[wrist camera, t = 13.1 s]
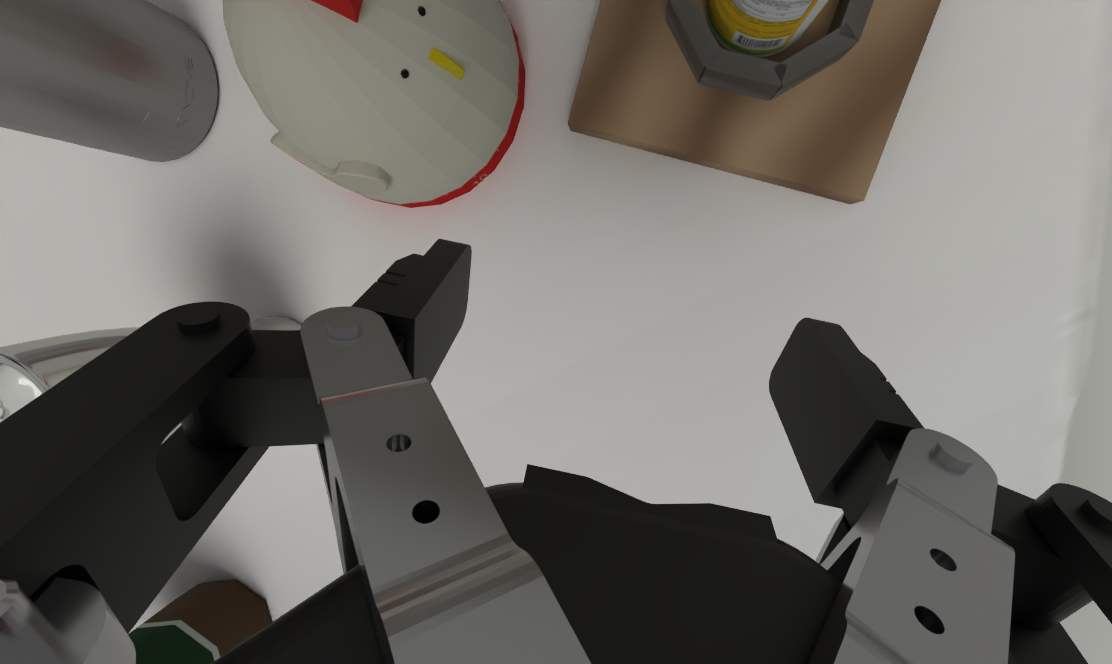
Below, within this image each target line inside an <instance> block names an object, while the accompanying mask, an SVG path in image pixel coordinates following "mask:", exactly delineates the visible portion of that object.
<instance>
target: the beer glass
mask: <svg viewBox="0 0 1112 664" xmlns="http://www.w3.org/2000/svg"><path fill="white" fill-rule="evenodd" d="M250 323H251V328H252V330H300V328H301V324H299V323H298V322H296V321H294V320H292V319H289V318H286V317H279V316H270V317H265V318H261V319H258V320H255V321H253V322H250ZM139 328H140V327H130V328H118V329H106V330H95V331H88V332H81V333H75V334H68V335H61V336H55V337H50V338H45V339H39V340H34V341H28V342H23V343H18V344H14V345H9V346H4V347H0V422H1V421H3V420H4V419H6V418H7V417H9V416H10V415H12V414H13V413H15V412H16V411H18V410H19V409H21V408H22V407H24V406H25V405H27V404H28V403H29V402H31V401H32V400H34V399H35V398H37V397H38V396H40V395H41V394H43V393H44V392H46V391H47V390H49V389H50V388H52V387H53V386H55V385H56V384H57V383H59V382H60V381H62V380H63V379H65V378H66V377H68V376H69V375H71V374H72V373H74V372H75V371H77V370H78V369H80V368H81V367H83V366H84V365H85V364H87V363H88V362H90V361H91V360H93V359H94V358H96V357H97V356H99V355H100V354H102V353H103V352H105V351H106V350H108V349H109V348H111V347H112V346H113V345H115V344H116V343H118V342H119V341H121V340H122V339H124V338H125V337H127V336H128V335H130V334H131V333H133V332H134V331H136V330H137V329H139ZM180 426H181V423H180V424H179V425H178V426H177V427H176V428H175V429H174V430H172V431H171V432H170V433H169V435H168V436H167V437H166V438H165V439H164V441H163V442H162V444H163V443H164V442H165V441H166V440H167V439H168V438H169V437H170V436H171V435H172V434H173V433H174V432H175V431H176V430H177V429H178V428H179V427H180ZM162 444H161V445H162Z"/></svg>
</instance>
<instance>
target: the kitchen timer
mask: <svg viewBox="0 0 1112 664" xmlns="http://www.w3.org/2000/svg"><path fill="white" fill-rule="evenodd" d="M223 15H224V23H225V27H226V30H227V34H228V37H229V41H230V44H231V48H232V51H233V54H234V58H235V61H236V64H237V66H238V68H239V71H240V73H241V75H242V77H243V78H244V80H245V82H246V83H247V85H248V87H249V88H250V90H251V92H252V94H253V95H254V97H255V99H256V100H257V102H258V104H259V106H260V107H261V109H262V111H263V112H264V114H265V115H266V117H267V118H268V119H269V120H270V122H271V123H272V124H273V125H274V126H275V127H276V128H277V129H278V130H279V132H278V133H277V134H276V135H275V136H273V137H272V138H271V142H272V143H273V144H274V145H275V146H277V147H278V148H279V149H281V150H282V151H284V152H285V153H287V154H288V155H290V156H291V157H293V158H294V159H296V160H298V161H299V162H301V163H303V164H304V165H306V166H308V167H309V168H311V169H313V170H314V171H316V172H317V173H319V174H320V175H322V176H324V177H325V178H327V179H329V180H330V181H332V182H334V183H336V184H338V185H340V186H342V187H344V188H347V189H349V190H352V191H354V192H356V193H358V194H360V195H362V196H364V197H366V198H369V199H372V200H376V201H380V202H384V203H389V204H395V205H400V206H405V207H410V208H413V207H422V206H430V205H439V204H443V203H445V202H447V201H450V200H452V199H454V198H456V197H458V196H461V195H463V194H465V193H467V192H470V191H471V190H472V189H473V188H474V187H475V186H477V185H478V184H479V183H480V182H481V181H482V180H484V179H485V178H486V177H487V176H488V175H489V174H490V173H492V172H493V171H494V170H495V168H496V167H497V165H498V164H499V162H500V161H501V159H502V158H503V156H504V154H505V153H506V151H507V150H508V148H509V147H510V145H511V144H512V142H513V140H514V136H515V133H516V130H517V127H518V124H519V121H520V117H521V114H522V111H523V108H524V87H525V69H524V64H523V60H522V56H521V51H520V47H519V42H518V38H517V35H516V33H515V31H514V29H513V26H512V24H511V22H510V20H509V19H508V17H507V15H506V13H505V11H504V9H503V8H502V6H501V4H500V2H499V0H223Z"/></svg>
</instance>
